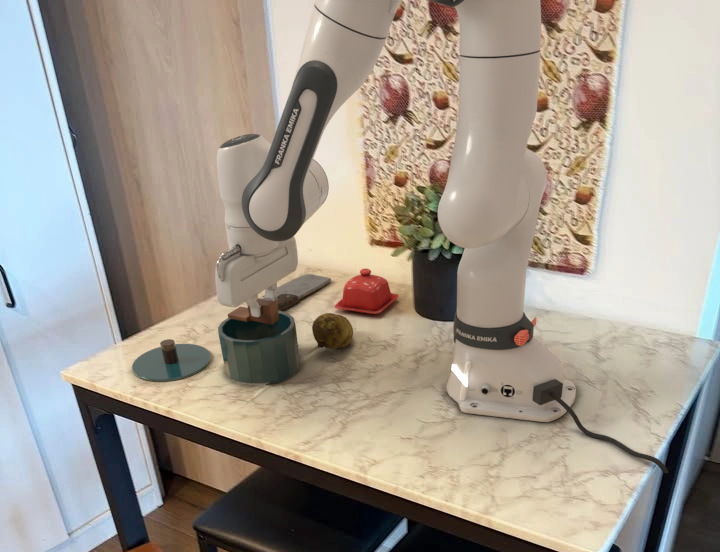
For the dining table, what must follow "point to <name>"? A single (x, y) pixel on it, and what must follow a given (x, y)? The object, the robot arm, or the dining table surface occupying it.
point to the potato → (332, 331)
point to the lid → (171, 362)
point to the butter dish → (366, 294)
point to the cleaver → (298, 289)
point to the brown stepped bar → (268, 316)
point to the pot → (260, 349)
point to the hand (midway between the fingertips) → (263, 311)
